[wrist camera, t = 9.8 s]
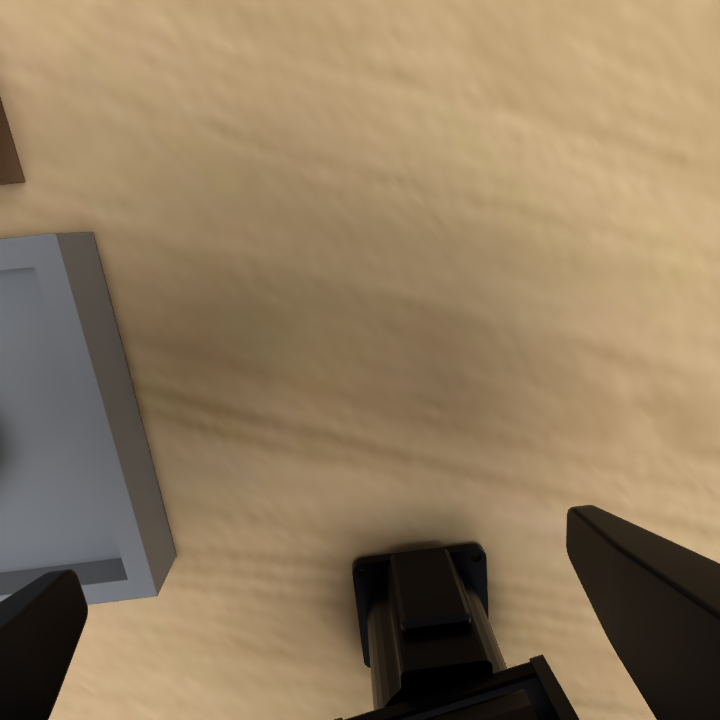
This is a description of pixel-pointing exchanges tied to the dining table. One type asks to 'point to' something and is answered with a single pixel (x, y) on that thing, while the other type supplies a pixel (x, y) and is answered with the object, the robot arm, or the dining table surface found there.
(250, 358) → the dining table surface
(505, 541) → the dining table surface
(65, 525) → the dish
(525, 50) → the dining table surface
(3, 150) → the walnut block
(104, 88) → the dining table surface
